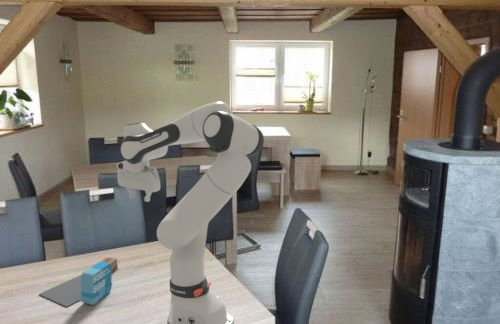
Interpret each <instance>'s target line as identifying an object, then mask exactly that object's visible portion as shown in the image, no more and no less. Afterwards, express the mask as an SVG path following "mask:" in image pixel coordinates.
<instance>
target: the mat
mask: <svg viewBox="0 0 500 324" xmlns="http://www.w3.org/2000/svg"><path fill="white" fill-rule="evenodd" d="M81 275H82V274H80V275H77V276H76V277H73V278H71V279H69V280H67V281H65V282H63V283H62V282H61V284H58V285H56V286H54V287H52V288H49V289H47V290H44V291H42V292H41V293H39V294H38V295H39V296H41V297H43V298H45V299H48V300H50V301H52V302H54V303H56V304H58V305H60V306H63V307H65V308H69V307H71V306H72V305H74V304H77V303H78V302H80V301H81ZM112 285H113V283H112V282H111V286H112ZM81 302H82V301H81Z"/></svg>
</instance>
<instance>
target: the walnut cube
mask: <svg viewBox="0 0 500 324" xmlns="http://www.w3.org/2000/svg"><path fill="white" fill-rule="evenodd" d="M101 261H102V262H106V263H110V264H111V265H112V275H113V274H114V273H115V272H116V271H118V270H119V268H118V267H119V266H118V258H114V257H104V258H103V260H101Z"/></svg>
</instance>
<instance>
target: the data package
mask: <svg viewBox="0 0 500 324" xmlns="http://www.w3.org/2000/svg"><path fill="white" fill-rule="evenodd" d="M80 275H81V303H82V304H83V303H84V304H88V305H91V306H94V305H96V304H97V303H98V302H99V301H101V300H102V299H103V298H104V297H106V296H107V295H108V294H109V293H110V292H111V290H112V285H111V283H112V275H113V274H112V265H111V264H110V263H106V262H102V260H99V261H98V262H97V263H95V264H94V265H92V266H90V267H89V268H87V269H85V271H83V272H82V273H81V274H80Z"/></svg>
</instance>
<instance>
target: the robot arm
mask: <svg viewBox="0 0 500 324" xmlns="http://www.w3.org/2000/svg"><path fill="white" fill-rule="evenodd" d="M205 141H206V143H207V144H208V146H209V149H210V151H211V152H212V153H214V154H217V157H216V159H215V161H214V162H213V164H211V166H210V167H209V168H208V169H207V170H206V172H205V173H204V174H203V175H202V176H201V177H200V179H199V180H198V181H197V182H196V183H195V185H194V186H192V188H191V189H190V190H189V191H188V192H187V193H186V194H185V195H184V196H183V197H182V198H180V200H179V201H178V203H176V204H175V206H174V207H173V208H171V210H170V211H169V212H168V213H167V214H166V215H165V217H164V218H163V219H162V220H161V222H160V223H159V225H158V226H157V229H156V237H157V240H158V241H159V243H160V244H161V245H162V247H164V248H166V249H168V250H171V253H170V256H169V269H170V279H169V291H170V294H171V295H170V296H171V297H170V307H169V314H168V317H167V321H168V324H234V321H235V319H234V316H232V315H231V314H229V313H227V308H226V306H225V303H224V302H223V301H222V300H221V298H220V297H219V296H217V295H216V294H215V293H214V292H213V291H212V290H211V289H210V287H211V286H212V281H210V282H208V280H207V278H206V277H207V276H206V275H205V251H206V250H205V249H206V242H207V237H208V236H207V235H208V228H209V223H210V221H212V219H213V218H214V217H215V216H216V215H217V214H218V213H219V212H220V211H221V209H222V208H223V207H224V206H225V205H226V204H227V203H228V202H229V200H230V199H232V197H233V196H234V195H236V193H237V191H238V190H239V189H240V188H241V187H242V185H243V184H244V183H245V181H246V179H247V178H248V176H249V174H250V172H251V170H252V163H251V161H250V159H249V158H250V157H253V156H257V154H259V153H260V151H262V149H263V147H264V142H265V137H264V134H263V131H261V129H259V128H258V126H256V125H254V124H252V123H250V122H248V121H247V120H245V119H244V118H241V117H240V116H237V115H234V113H233V110H232V108H231V107H230V106H229V104H227V103H226V102H224V101H215V102H210V103H207V104H204V105H201V106H199V107H196V108H195V109H192V110H191V111H189V112H186V113H185V114H183V115H182V116H180V117H178V118H177V119H175V120H172V121H170V122H169V123H167V124H165V125H164V126H162V127H159V128H157V129H154V130H153V129H151V128H150V127H149V126H147V123H145V122H135V123H129V124H127V125H125V126H124V130H123V139H122V142H121V144H120V150H119V151H120V155H121V157H122V159H124V160H123V161H121V162H117V163H116V168H117V172H116V173H117V175H116V176H117V184H118V185H119V187H123V188H126V191H127V193H128V195H129V199H131V200H132V199H136V196H137V195H136V193H135V192H134V189H135V190H140V191H144V192H145V196H144V197H143V201H144V202H147V203H149V202H150V201H151V196H152V194H153V193H156V192H159V191H160V190H161V180H160V175H159V172H158V170H157V169H156V167H155V166H150V165H151V164H150V161H151V160H156V159H160V158H162V157H164V156H166V155H167V154H168V151H169V146H176V145H187V144H188V145H189V144H196V143H202V142H205Z"/></svg>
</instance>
